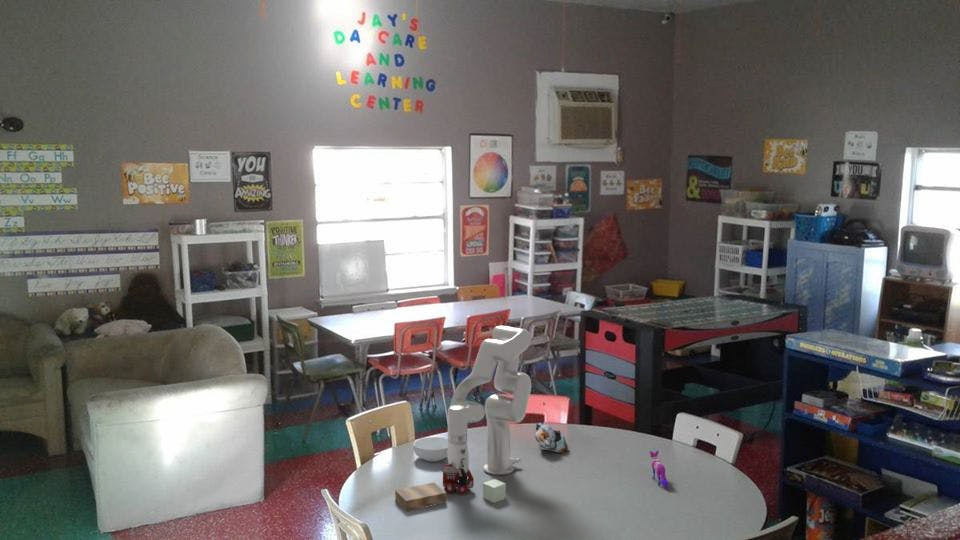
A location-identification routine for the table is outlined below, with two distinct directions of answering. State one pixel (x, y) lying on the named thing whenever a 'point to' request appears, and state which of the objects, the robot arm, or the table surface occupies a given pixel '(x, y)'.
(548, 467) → the table surface
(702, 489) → the table surface
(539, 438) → the lucky cat figurine
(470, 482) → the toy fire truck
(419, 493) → the tan block
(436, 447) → the cereal bowl
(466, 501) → the table surface
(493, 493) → the sage cube
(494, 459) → the robot arm
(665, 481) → the toy dog
